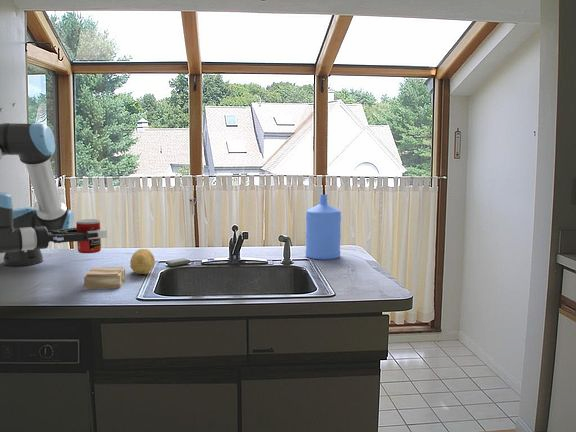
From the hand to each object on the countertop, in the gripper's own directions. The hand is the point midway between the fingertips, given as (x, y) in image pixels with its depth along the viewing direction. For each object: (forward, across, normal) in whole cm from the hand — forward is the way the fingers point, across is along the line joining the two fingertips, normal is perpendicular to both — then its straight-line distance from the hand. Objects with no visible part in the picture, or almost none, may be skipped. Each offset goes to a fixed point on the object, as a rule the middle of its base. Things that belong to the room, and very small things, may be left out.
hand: (102, 231), depth 196 cm
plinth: (0, +1, -19) cm, 19 cm away
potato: (+17, -7, -19) cm, 27 cm away
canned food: (-5, 0, -7) cm, 8 cm away
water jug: (+96, +10, -19) cm, 98 cm away
